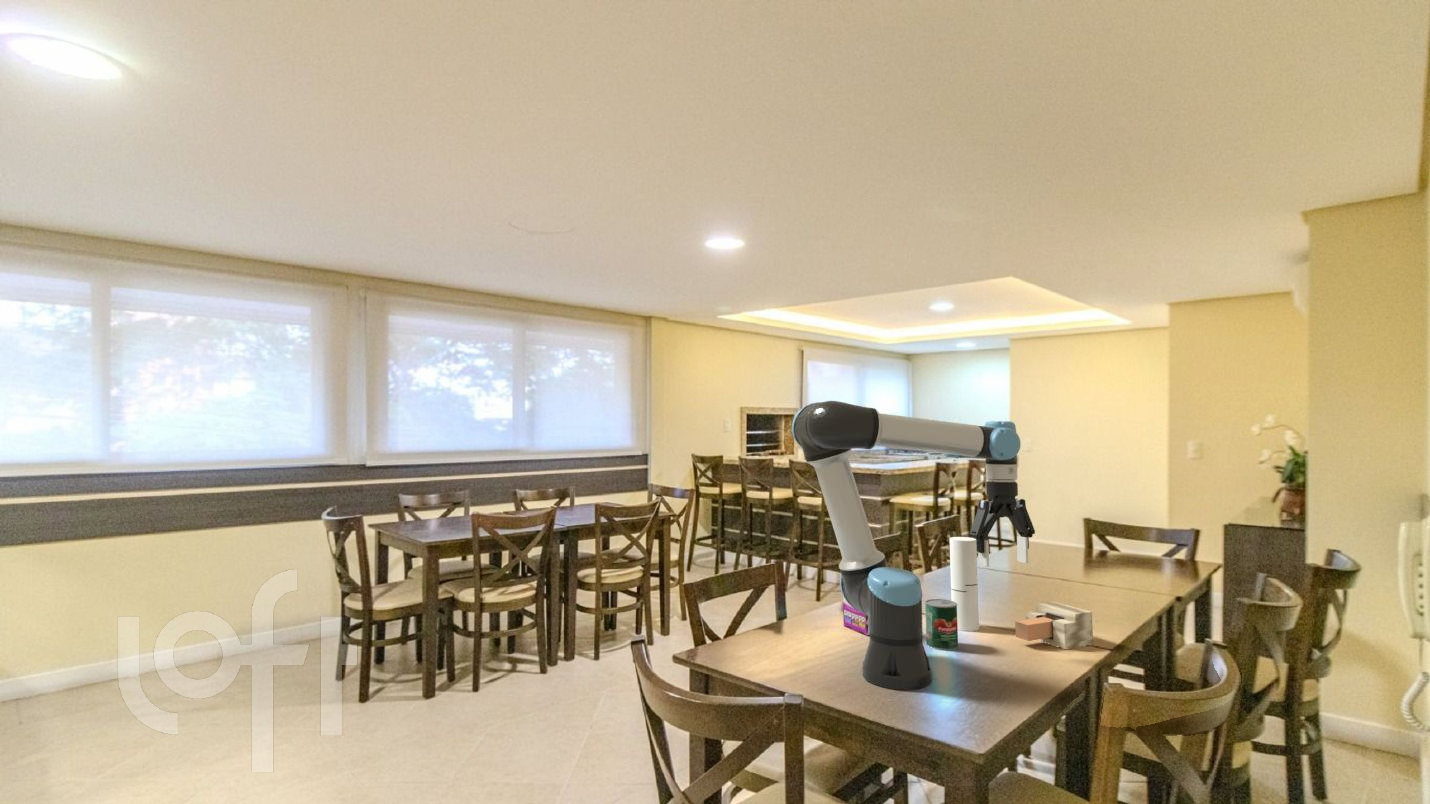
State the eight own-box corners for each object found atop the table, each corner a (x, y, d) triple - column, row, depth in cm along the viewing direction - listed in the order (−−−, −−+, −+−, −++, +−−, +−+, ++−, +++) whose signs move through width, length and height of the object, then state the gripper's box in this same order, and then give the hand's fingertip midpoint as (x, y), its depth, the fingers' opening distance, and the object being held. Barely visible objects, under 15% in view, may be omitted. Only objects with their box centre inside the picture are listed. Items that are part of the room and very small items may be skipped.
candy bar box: (881, 634, 180) (880, 573, 180) (867, 636, 177) (865, 575, 178) (856, 623, 190) (855, 566, 191) (842, 625, 188) (841, 568, 189)
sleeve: (1065, 649, 165) (1063, 616, 165) (1026, 636, 176) (1025, 605, 176) (1093, 644, 169) (1091, 611, 169) (1053, 632, 180) (1052, 601, 180)
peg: (1028, 641, 166) (1027, 625, 166) (1015, 636, 169) (1015, 621, 170) (1057, 636, 169) (1056, 620, 170) (1044, 632, 173) (1043, 616, 173)
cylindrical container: (983, 631, 181) (980, 540, 182) (957, 631, 181) (954, 540, 183) (973, 624, 188) (970, 536, 190) (948, 624, 188) (946, 537, 190)
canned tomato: (946, 652, 164) (945, 608, 164) (919, 644, 170) (918, 602, 171) (964, 646, 168) (963, 603, 169) (938, 639, 175) (937, 597, 175)
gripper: (976, 482, 160) (977, 570, 159) (1048, 480, 170) (1050, 563, 169) (953, 480, 167) (955, 564, 166) (1024, 478, 177) (1026, 558, 176)
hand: (1003, 564), depth 167 cm, fingers open, 13 cm apart
